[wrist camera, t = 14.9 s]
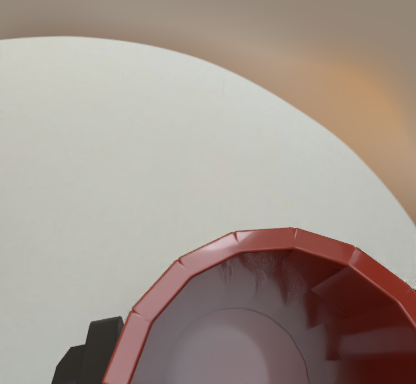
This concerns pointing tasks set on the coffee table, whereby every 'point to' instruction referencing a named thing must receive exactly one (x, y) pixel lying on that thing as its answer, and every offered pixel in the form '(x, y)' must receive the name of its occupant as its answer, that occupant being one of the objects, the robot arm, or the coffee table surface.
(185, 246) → the coffee table surface
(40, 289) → the coffee table surface
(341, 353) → the red cup
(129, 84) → the coffee table surface
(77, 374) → the robot arm
